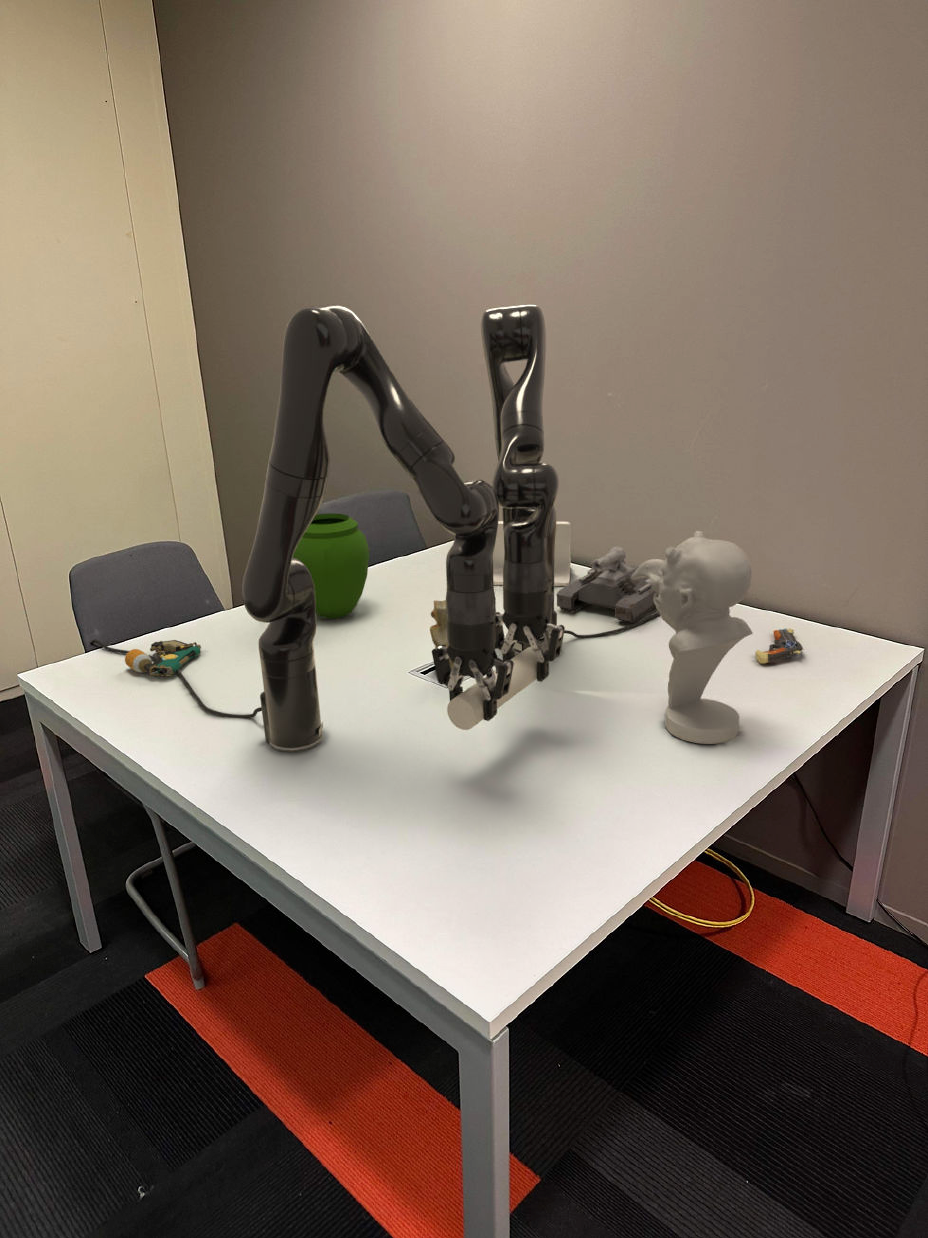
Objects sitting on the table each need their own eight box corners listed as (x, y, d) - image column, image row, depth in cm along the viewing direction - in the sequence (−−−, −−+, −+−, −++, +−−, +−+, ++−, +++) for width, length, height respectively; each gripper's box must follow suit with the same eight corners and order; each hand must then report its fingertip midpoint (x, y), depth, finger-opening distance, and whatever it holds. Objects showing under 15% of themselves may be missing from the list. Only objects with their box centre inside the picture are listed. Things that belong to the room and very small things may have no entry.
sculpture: (458, 662, 183) (456, 596, 178) (460, 676, 176) (457, 608, 171) (431, 663, 183) (428, 597, 177) (431, 677, 176) (428, 609, 171)
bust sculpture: (671, 682, 170) (682, 511, 158) (763, 732, 151) (784, 540, 138) (606, 701, 164) (613, 523, 151) (694, 755, 144) (709, 555, 131)
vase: (389, 608, 216) (383, 514, 208) (339, 633, 201) (330, 533, 192) (330, 596, 226) (322, 506, 218) (278, 619, 211) (267, 523, 202)
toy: (603, 584, 229) (605, 530, 224) (673, 597, 218) (677, 540, 213) (555, 612, 210) (556, 553, 205) (630, 627, 199) (633, 566, 194)
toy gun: (758, 654, 176) (809, 651, 174) (746, 627, 194) (792, 624, 192) (758, 667, 177) (809, 664, 175) (747, 638, 195) (793, 635, 193)
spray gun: (168, 648, 197) (219, 659, 191) (111, 671, 183) (165, 685, 177) (166, 630, 196) (218, 641, 190) (109, 653, 181) (164, 665, 176)
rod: (522, 671, 152) (522, 644, 150) (548, 677, 150) (548, 649, 148) (447, 725, 134) (446, 694, 132) (476, 733, 131) (475, 702, 129)
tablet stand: (569, 585, 229) (570, 524, 223) (476, 584, 232) (475, 523, 226) (570, 566, 246) (571, 508, 240) (484, 564, 249) (483, 507, 243)
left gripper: (417, 613, 130) (422, 713, 136) (498, 630, 122) (499, 735, 128) (445, 599, 136) (449, 695, 142) (524, 614, 128) (524, 715, 134)
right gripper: (476, 583, 143) (479, 675, 149) (553, 597, 135) (552, 693, 141) (500, 571, 148) (501, 660, 154) (574, 584, 141) (572, 677, 147)
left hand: (473, 713), depth 135 cm, fingers closed on rod, 5 cm apart
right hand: (525, 675), depth 148 cm, fingers open, 5 cm apart
